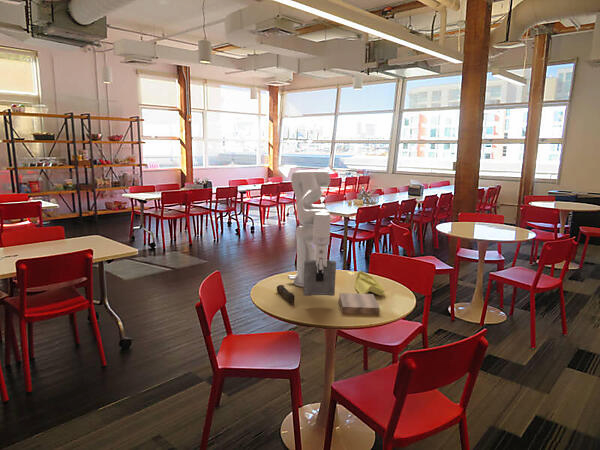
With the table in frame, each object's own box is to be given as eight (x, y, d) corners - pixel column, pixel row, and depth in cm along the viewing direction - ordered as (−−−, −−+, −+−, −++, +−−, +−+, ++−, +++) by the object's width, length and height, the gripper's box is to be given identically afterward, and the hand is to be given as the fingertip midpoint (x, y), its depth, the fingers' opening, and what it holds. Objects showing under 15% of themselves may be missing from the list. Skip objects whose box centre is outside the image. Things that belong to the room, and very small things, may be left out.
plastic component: (386, 291, 201) (369, 284, 198) (378, 304, 202) (361, 297, 199) (372, 276, 220) (357, 269, 217) (366, 288, 221) (350, 281, 218)
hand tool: (276, 292, 204) (276, 283, 203) (284, 291, 205) (284, 282, 204) (287, 306, 186) (288, 297, 185) (296, 305, 187) (296, 296, 187)
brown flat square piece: (342, 313, 179) (342, 306, 179) (339, 299, 196) (339, 293, 195) (379, 314, 179) (379, 307, 179) (372, 299, 196) (373, 294, 195)
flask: (302, 292, 189) (304, 255, 185) (333, 292, 190) (335, 255, 186) (303, 295, 185) (304, 257, 181) (335, 295, 187) (336, 257, 183)
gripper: (330, 245, 174) (328, 286, 178) (328, 236, 190) (326, 273, 194) (313, 245, 174) (311, 285, 178) (312, 235, 190) (310, 273, 194)
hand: (319, 279), depth 186 cm, fingers closed on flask, 3 cm apart
